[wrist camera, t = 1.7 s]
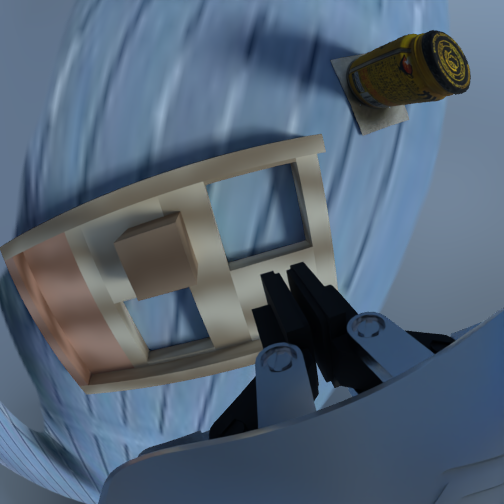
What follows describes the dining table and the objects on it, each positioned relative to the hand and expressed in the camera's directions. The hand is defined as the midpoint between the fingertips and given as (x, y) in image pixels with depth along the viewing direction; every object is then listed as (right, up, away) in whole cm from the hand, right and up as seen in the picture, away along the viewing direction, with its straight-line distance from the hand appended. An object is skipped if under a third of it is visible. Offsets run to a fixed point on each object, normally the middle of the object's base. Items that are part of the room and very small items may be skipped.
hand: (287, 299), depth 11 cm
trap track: (-10, -1, +15) cm, 18 cm away
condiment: (+11, +19, +12) cm, 25 cm away
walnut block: (-9, +2, +12) cm, 15 cm away
